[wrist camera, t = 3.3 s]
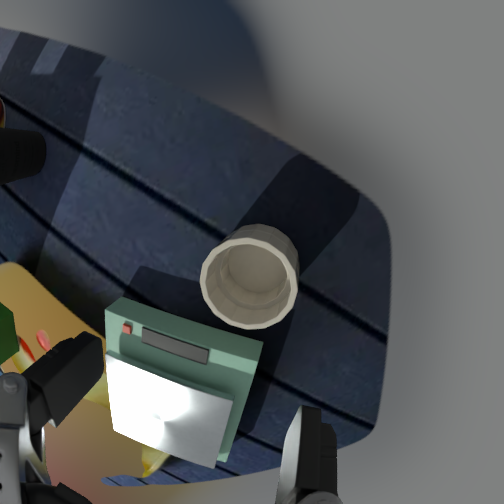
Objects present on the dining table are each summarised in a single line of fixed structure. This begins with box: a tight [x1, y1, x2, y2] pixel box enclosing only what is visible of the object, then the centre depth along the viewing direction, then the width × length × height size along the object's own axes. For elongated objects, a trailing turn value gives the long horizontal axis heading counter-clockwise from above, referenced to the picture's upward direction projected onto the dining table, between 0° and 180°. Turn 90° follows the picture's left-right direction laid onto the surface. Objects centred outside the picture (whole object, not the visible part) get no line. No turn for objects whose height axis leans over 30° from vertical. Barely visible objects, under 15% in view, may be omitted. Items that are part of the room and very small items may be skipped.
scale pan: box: [105, 350, 235, 469], centre depth 26 cm, size 12×12×1 cm
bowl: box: [200, 224, 300, 329], centre depth 22 cm, size 6×6×5 cm
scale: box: [105, 297, 263, 462], centre depth 28 cm, size 14×16×3 cm
